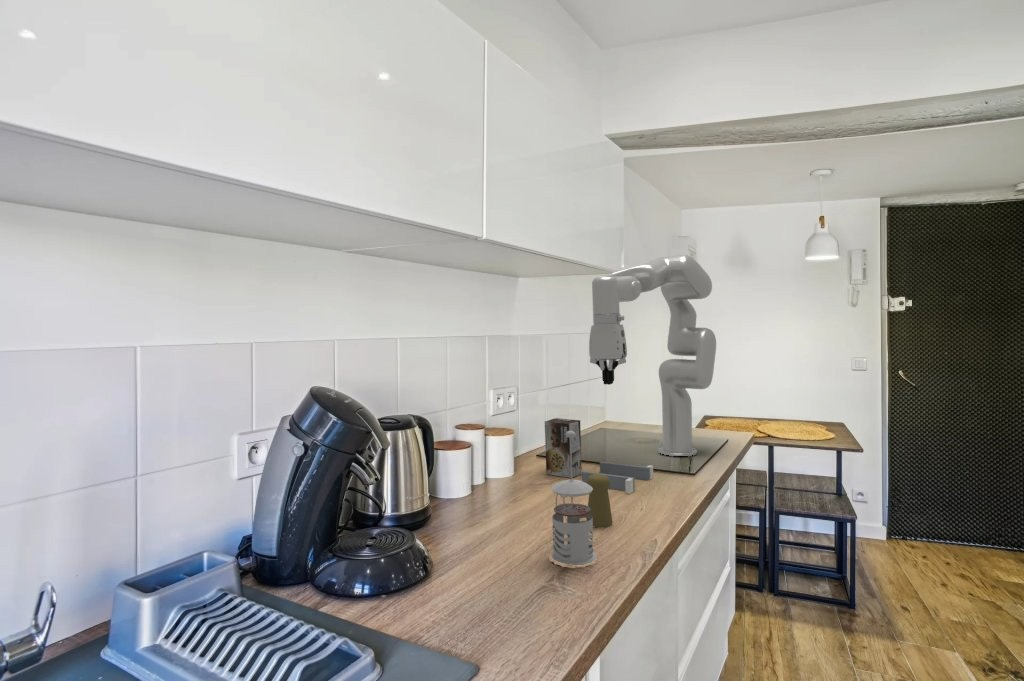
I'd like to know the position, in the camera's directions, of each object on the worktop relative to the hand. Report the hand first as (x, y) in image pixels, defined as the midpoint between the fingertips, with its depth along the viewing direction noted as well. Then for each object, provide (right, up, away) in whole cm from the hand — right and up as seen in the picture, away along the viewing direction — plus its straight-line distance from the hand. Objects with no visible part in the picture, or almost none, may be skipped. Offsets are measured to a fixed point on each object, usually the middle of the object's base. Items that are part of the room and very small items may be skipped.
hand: (608, 383), depth 174 cm
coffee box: (-12, -28, +6) cm, 31 cm away
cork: (-8, -29, -37) cm, 48 cm away
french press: (-16, -30, -55) cm, 65 cm away
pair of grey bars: (+2, -27, -4) cm, 28 cm away
